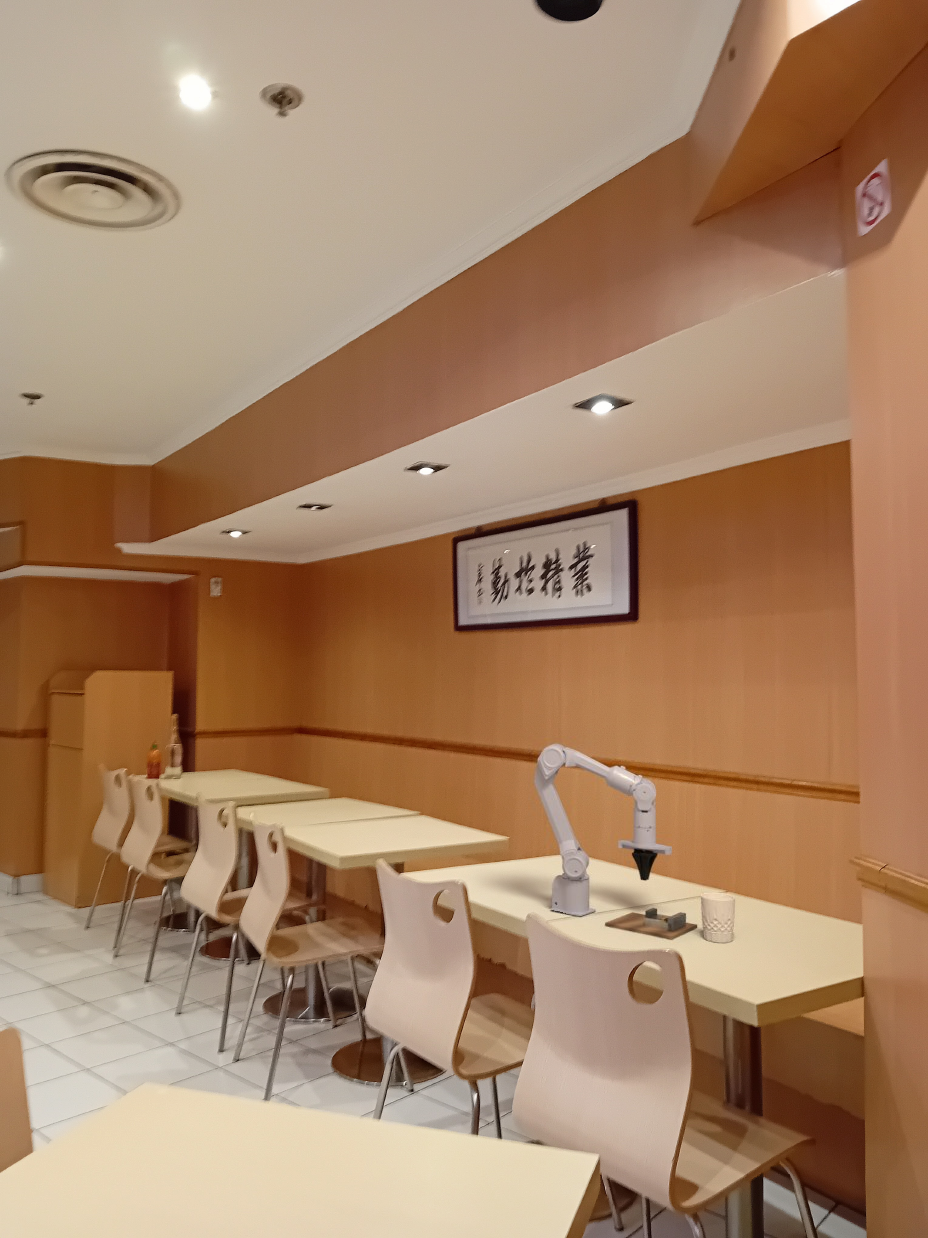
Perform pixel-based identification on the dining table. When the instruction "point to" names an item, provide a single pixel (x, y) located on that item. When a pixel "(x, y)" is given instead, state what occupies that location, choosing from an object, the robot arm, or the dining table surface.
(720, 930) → the white cup
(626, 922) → the walnut board
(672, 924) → the gauge body
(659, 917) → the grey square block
